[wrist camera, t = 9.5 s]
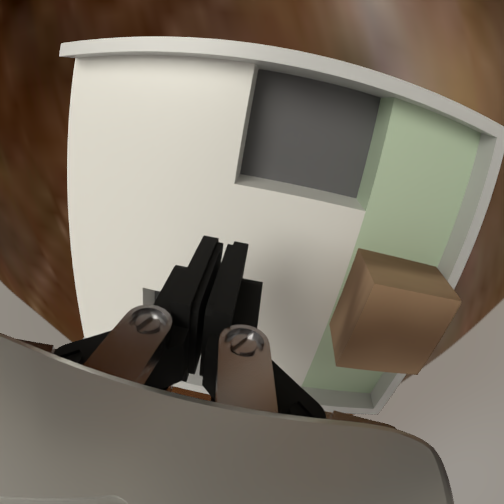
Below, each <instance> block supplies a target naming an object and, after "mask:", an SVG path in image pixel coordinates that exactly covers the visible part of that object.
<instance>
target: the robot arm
mask: <svg viewBox="0 0 504 504" xmlns="http://www.w3.org/2000/svg"><path fill="white" fill-rule="evenodd" d="M248 246H249V244H247V243H241V242H236V241H234V243H233V245H231V244H228V245H227V247H226V250H225V253H224V256H223V259H222V252H223V243H221V242H219V238H215V237H210V236H205V235H204V236H203V238H202V239H201V241H200V243H199V245H198V247H197V249H196V251H195V253H194V255H193V257H192V259H191V261H190V263H189V265H188V267H184V266H179V265H175V266H174V268H173V270H172V271H171V273H170V275H169V277H168V279H167V280H166V282H165V284H164V286H163V288H162V289H161V291H160V293H159V295H158V297H157V299H156V300H155V302H154V304H153V305H140V306H137V307H134V308H132V309H131V310H130V311H128V312H127V313H126V315H125V316H124V317H123V318H122V319H121V320H120V321H119V323H118V324H117V325H116V326H115V327H114V328H113V330H111V331H108V332H105V333H102V334H98V335H95V336H92V337H88V338H85V339H82V340H79V341H75V342H72V343H69V344H65V345H63V346H61V347H59V348H58V349H55V348H54V346H53V345H48V344H42V343H36V342H31V341H25V340H20V339H14V338H12V337H9V336H7V335H4V334H2V333H0V504H454V501H453V495H452V491H451V487H450V483H449V479H448V476H447V473H446V470H445V467H444V465H443V462H442V460H441V458H440V457H439V455H438V453H437V452H436V451H435V449H434V448H433V447H432V446H431V445H429V444H428V443H427V442H425V441H424V440H422V439H420V438H418V437H416V436H414V435H411V434H408V433H406V432H403V431H400V430H397V429H396V428H395V427H393V426H391V425H388V424H385V423H380V422H376V421H372V420H368V419H364V418H360V417H356V416H353V415H349V414H346V413H342V412H338V411H335V410H333V412H332V413H329V412H326V411H324V409H323V408H322V407H321V405H320V404H319V403H318V402H317V401H316V400H315V399H314V398H312V397H311V396H310V395H309V394H308V393H307V392H306V391H305V390H304V389H303V388H301V387H300V386H299V385H298V384H297V383H296V382H295V381H294V380H293V379H292V378H291V377H290V376H289V375H287V374H286V373H285V372H284V371H283V370H282V369H281V368H280V367H279V366H278V365H277V364H276V363H275V362H274V361H273V360H272V359H271V351H270V343H269V340H268V338H267V336H266V335H265V334H264V333H263V332H262V331H260V330H259V329H257V326H258V318H259V310H260V302H261V294H262V286H263V282H260V281H255V280H249V279H244V278H243V274H244V268H245V263H246V257H247V252H248ZM221 259H222V262H221ZM200 355H201V360H200V372H199V376H203V380H202V386H203V387H204V388H205V389H206V391H207V392H208V393H209V394H210V395H211V401H207V400H202V399H198V398H193V397H189V396H185V395H181V394H177V393H173V392H172V389H173V384H176V383H178V382H180V381H184V382H187V379H188V376H189V373H190V374H195V372H196V369H197V366H198V362H199V359H200Z"/></svg>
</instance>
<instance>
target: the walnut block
mask: <svg viewBox="0 0 504 504" xmlns="http://www.w3.org/2000/svg"><path fill="white" fill-rule="evenodd" d="M461 303H462V301H461V299H460V298H459V296H458V295H457V294H456V292H455V291H454V290H453V288H452V287H451V285H450V284H449V283H448V281H447V280H446V279H445V277H444V276H443V275H442V274H441V272H440V271H439V270H438V268H437V267H436V266H432V265H428V264H424V263H419V262H415V261H411V260H407V259H403V258H399V257H395V256H391V255H386V254H382V253H378V252H374V251H370V250H365V249H361V248H358V250H357V253H356V256H355V259H354V261H353V264H352V267H351V270H350V272H349V275H348V278H347V280H346V283H345V285H344V288H343V291H342V293H341V296H340V298H339V301H338V303H337V306H336V308H335V311H334V313H333V316H332V318H331V321H330V323H329V325H330V331H331V337H332V344H333V350H334V357H335V363H336V366H337V367H344V368H352V369H361V370H370V371H380V372H390V373H401V374H414V375H418V373H419V372H420V370H421V369H422V367H423V366H424V364H425V363H426V361H427V360H428V358H429V357H430V355H431V354H432V352H433V351H434V349H435V347H436V346H437V344H438V343H439V341H440V339H441V338H442V336H443V334H444V333H445V331H446V329H447V328H448V326H449V324H450V322H451V321H452V319H453V317H454V315H455V314H456V312H457V310H458V308H459V306H460V304H461Z"/></svg>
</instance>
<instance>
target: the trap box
mask: <svg viewBox="0 0 504 504" xmlns="http://www.w3.org/2000/svg"><path fill="white" fill-rule="evenodd" d="M59 56H60V57H71V58H76V59H75V65H74V73H73V81H72V90H71V100H70V112H69V127H68V153H67V187H68V214H69V230H70V242H71V252H72V262H73V270H74V278H75V285H76V292H77V299H78V305H79V311H80V316H81V322H82V327H83V332H84V338H83V339H85V338H88V337H92V336H95V335H98V334H102V333H105V332H108V331H111V330H113V328H114V327H115V326H116V325H117V324H118V323H119V321H120V320H121V319H122V318H123V317H124V316H125V315H126V313H127V312H128V311H130V310H131V309H132V308H134V307H137V306H140V305H153V304H154V302H155V300H156V299H157V297H158V295H159V293H160V291H161V289H162V288H163V286H164V284H165V282H166V280H167V279H168V277H169V275H170V273H171V271H172V270H173V268H174V266H175V265H179V266H184V267H188V265H189V263H190V261H191V259H192V257H193V255H194V253H195V251H196V249H197V247H198V245H199V243H200V241H201V239H202V238H203V236H204V235H205V236H210V237H215V238H219V242H221V243H223V252H222V259H223V256H224V253H225V250H226V247H227V245H228V244H231V245H233V243H234V241H236V242H241V243H247V244H249V246H248V252H247V257H246V263H245V268H244V274H243V278H244V279H249V280H255V281H260V282H263V286H262V294H261V302H260V310H259V318H258V326H257V329H259V330H260V331H262V332H263V333H264V334H265V335H266V336H267V338H268V340H269V343H270V351H271V359H272V360H273V361H274V362H275V363H276V364H277V365H278V366H279V367H280V368H281V369H282V370H283V371H284V372H285V373H286V374H287V375H289V376H290V377H291V378H292V379H293V380H294V381H295V382H296V383H297V384H298V385H299V386H300V387H301V388H303V389H304V390H305V391H306V392H307V393H308V394H309V395H310V396H311V397H312V398H314V399H315V400H316V401H317V402H318V403H319V404H320V405H321V407H322V408H323V409H324V411H326V412H333V410H335V411H338V412H342V413H351V414H371V415H373V414H374V415H378V414H379V413H380V411H381V410H382V409H383V407H384V406H385V404H386V403H387V402H388V400H389V399H390V397H391V396H392V395H393V393H394V392H395V390H396V389H397V387H398V386H399V384H400V383H401V381H402V380H403V378H404V377H405V375H406V374H401V373H390V372H380V371H370V370H361V369H352V368H344V367H337V366H336V363H335V357H334V350H333V344H332V337H331V331H330V325H329V323H330V321H331V318H332V316H333V313H334V311H335V308H336V306H337V303H338V301H339V298H340V296H341V293H342V291H343V288H344V285H345V283H346V280H347V278H348V275H349V272H350V270H351V267H352V264H353V261H354V259H355V256H356V253H357V250H358V248H361V249H365V250H370V251H374V252H378V253H382V254H386V255H391V256H395V257H399V258H403V259H407V260H411V261H415V262H419V263H424V264H428V265H432V266H436V267H437V268H438V270H439V271H440V272H441V274H442V275H443V276H444V277H445V279H446V280H447V281H448V283H449V284H450V285H451V287H452V288H453V290H454V288H455V286H456V284H457V282H458V280H459V278H460V276H461V274H462V271H463V269H464V267H465V265H466V262H467V260H468V258H469V255H470V253H471V250H472V248H473V246H474V243H475V241H476V238H477V236H478V233H479V230H480V228H481V225H482V222H483V220H484V217H485V214H486V211H487V208H488V205H489V202H490V199H491V196H492V193H493V190H494V187H495V183H496V180H497V176H498V173H499V169H500V166H501V162H502V158H503V154H504V126H502V125H500V124H498V123H496V122H495V121H493V120H491V119H489V118H487V117H485V116H483V115H481V114H480V113H478V112H476V111H474V110H472V109H470V108H468V107H465V106H463V105H461V104H459V103H457V102H455V101H453V100H450V99H448V98H446V97H444V96H441V95H439V94H437V93H434V92H432V91H430V90H427V89H425V88H422V87H420V86H417V85H414V84H412V83H409V82H406V81H404V80H401V79H398V78H395V77H392V76H390V75H387V74H384V73H381V72H377V71H374V70H371V69H368V68H365V67H361V66H358V65H354V64H351V63H347V62H343V61H340V60H336V59H332V58H328V57H324V56H319V55H315V54H311V53H306V52H301V51H296V50H291V49H286V48H280V47H274V46H268V45H262V44H255V43H247V42H239V41H230V40H220V39H208V38H191V37H121V38H105V39H94V40H84V41H75V42H67V43H61V48H60V54H59ZM222 259H221V262H222ZM200 360H201V355H200V359H199V362H198V366H197V369H196V372H195V374H190V373H189V376H188V379H187V382H184V381H180V382H178V383H176V384H173V386H175V387H179V388H183V389H188V390H192V391H196V392H201V393H206V394H209V393H208V392H207V391H206V389H205V388H204V387H203V386H202V380H203V376H199V372H200Z"/></svg>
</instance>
